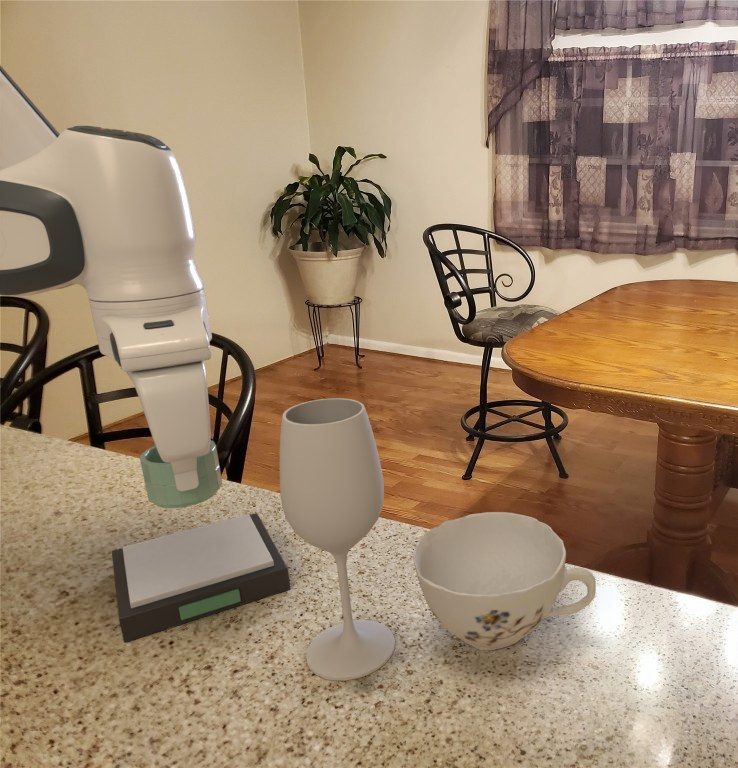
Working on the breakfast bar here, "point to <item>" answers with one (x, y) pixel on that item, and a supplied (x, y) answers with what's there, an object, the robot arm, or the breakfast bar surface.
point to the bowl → (163, 482)
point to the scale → (195, 574)
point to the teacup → (495, 577)
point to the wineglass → (335, 517)
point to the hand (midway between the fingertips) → (182, 472)
